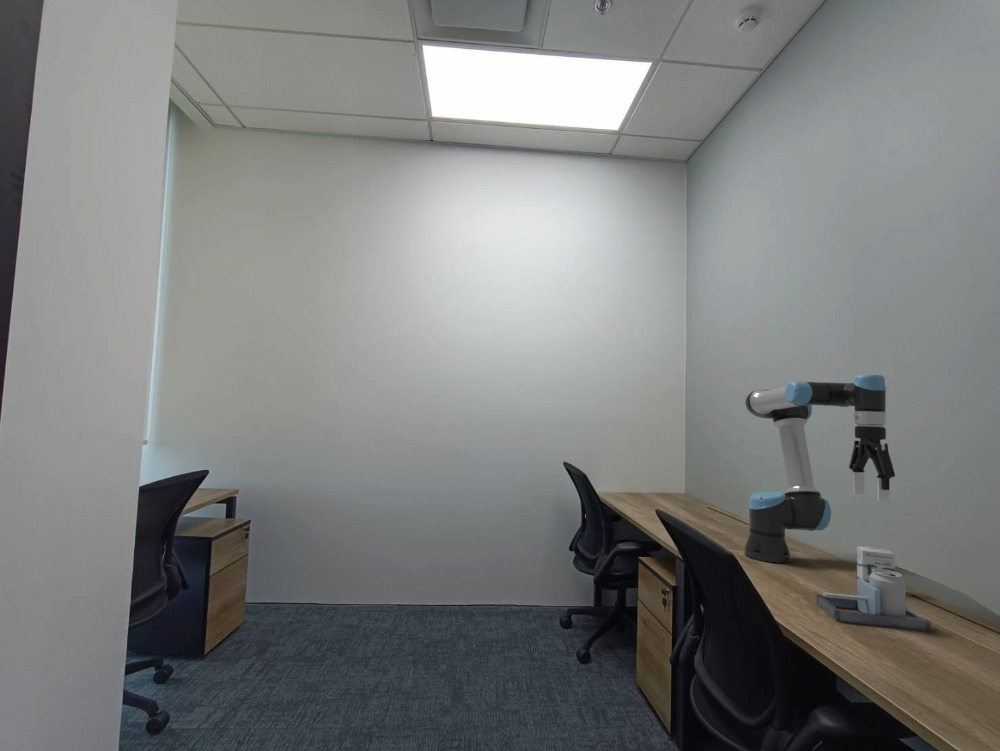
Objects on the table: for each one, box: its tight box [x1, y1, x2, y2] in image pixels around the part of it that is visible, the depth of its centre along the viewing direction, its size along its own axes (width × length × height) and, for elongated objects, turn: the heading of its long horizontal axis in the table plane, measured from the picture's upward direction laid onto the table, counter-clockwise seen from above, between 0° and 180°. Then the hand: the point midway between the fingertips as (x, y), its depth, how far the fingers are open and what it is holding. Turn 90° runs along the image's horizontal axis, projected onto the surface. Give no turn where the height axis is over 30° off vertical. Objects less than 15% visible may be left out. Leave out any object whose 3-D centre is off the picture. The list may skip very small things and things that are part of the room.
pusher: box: [822, 578, 880, 614], centre depth 132 cm, size 9×11×8 cm
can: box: [870, 569, 907, 617], centre depth 130 cm, size 8×8×12 cm
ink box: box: [856, 545, 896, 584], centre depth 154 cm, size 9×5×12 cm, turn 69°
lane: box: [816, 594, 932, 632], centre depth 130 cm, size 12×21×2 cm, turn 79°
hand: (870, 497), depth 148 cm, fingers open, 13 cm apart
